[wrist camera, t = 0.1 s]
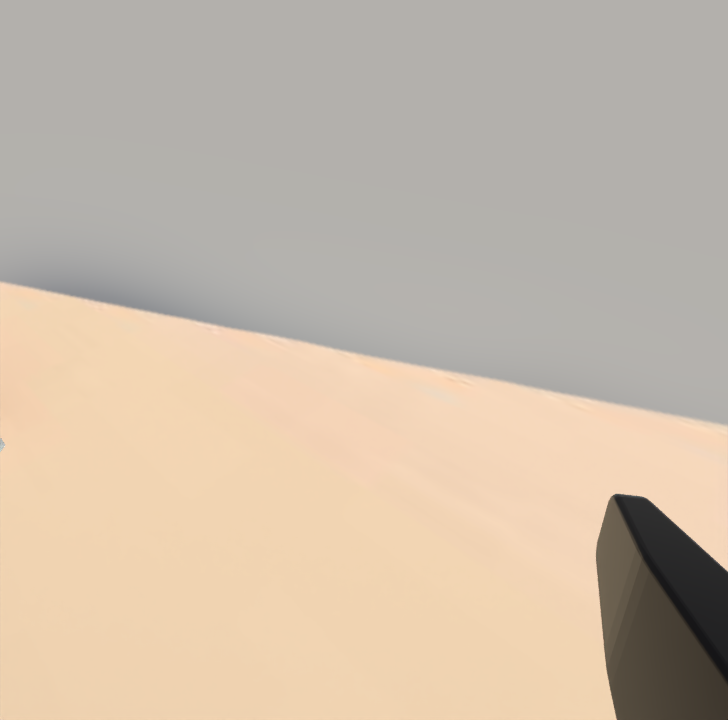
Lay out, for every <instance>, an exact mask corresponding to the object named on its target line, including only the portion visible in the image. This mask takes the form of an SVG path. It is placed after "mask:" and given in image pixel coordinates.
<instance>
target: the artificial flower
mask: <svg viewBox="0 0 728 720" xmlns="http://www.w3.org/2000/svg"><path fill="white" fill-rule="evenodd" d="M4 446H5V444H4V442H3V441H2V438H0V452H1V450H2V449H3V448H4Z"/></svg>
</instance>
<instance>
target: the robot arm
mask: <svg viewBox="0 0 728 720" xmlns="http://www.w3.org/2000/svg"><path fill="white" fill-rule="evenodd" d="M596 564H597V575H598V585H599V596H600V607H601V618H602V629H603V639H604V650H605V659H606V668H607V674H608V679H609V685H610V690H611V695H612V699H613V704H614V709H615V713H616V718H617V720H728V571H726V570H725V569H724V568H723V567H722V566H721V565H720V564H719V563H718V562H717V561H715V560H714V559H713V558H712V557H711V556H710V555H709V554H708V553H707V552H706V551H704V550H703V549H702V548H701V547H700V546H699V545H698V544H697V543H696V542H695V541H693V540H692V539H691V538H690V537H689V536H688V535H687V534H686V533H685V532H684V531H682V530H681V529H680V528H679V527H678V526H677V525H676V524H675V523H674V522H673V521H671V520H670V519H669V518H668V517H667V516H666V515H665V514H664V513H663V512H662V511H660V510H659V509H658V508H657V507H656V506H655V505H654V504H653V503H652V502H651V501H649V500H648V499H647V498H644V497H640V496H632V495H624V494H615V495H613V496H612V497H611V498H610V500H609V502H608V505H607V509H606V512H605V516H604V520H603V523H602V527H601V531H600V534H599V538H598V542H597V548H596Z"/></svg>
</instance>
